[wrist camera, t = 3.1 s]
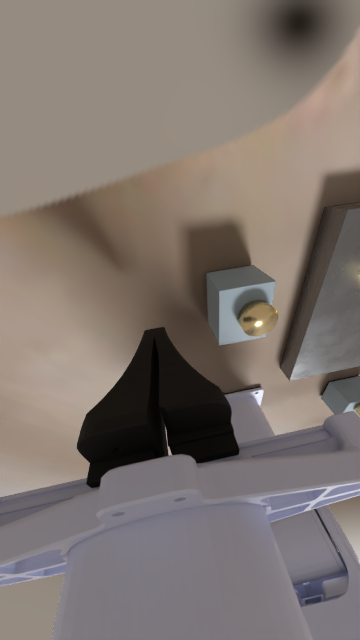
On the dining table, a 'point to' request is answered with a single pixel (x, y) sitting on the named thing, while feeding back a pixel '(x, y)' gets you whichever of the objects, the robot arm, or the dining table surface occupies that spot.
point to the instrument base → (328, 300)
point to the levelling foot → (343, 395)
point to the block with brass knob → (240, 304)
